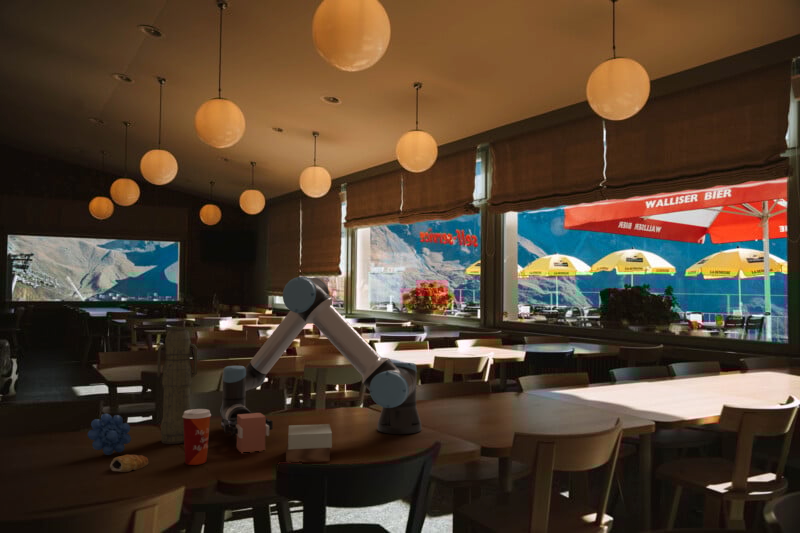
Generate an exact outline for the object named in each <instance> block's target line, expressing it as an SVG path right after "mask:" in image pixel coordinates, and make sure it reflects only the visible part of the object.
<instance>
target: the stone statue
mask: <svg viewBox="0 0 800 533" xmlns="http://www.w3.org/2000/svg"><path fill="white" fill-rule="evenodd" d="M164 341H165V342H164V344H160V345H159V347H158V348H157V372H156V373H157V378H159V379H161V380H162V381H161V384H162V388H163V404H162V405H163V406H162V407H163V408H162V414H163V415H162V419H161V424H160V435H161V443H162V444H166V445H178V444H184V422H183V417H182V416H183V415H184V411H187V410H191V409H190V408H191V387H192V382H193V378H194V377H195V376H196V375H198V347H197V346H196V344H194V343H192V341H191V335H190V332H189V330H187V329H185V328H184V329H181V328H179V329H177V328H176V329H175V328H174V329H170V330H168V331H167V334H166V337H165V340H164ZM162 348H163V349H164V355H165V358H164V364H163V367H161V364H162V363H161V362H162V361H161V360H162V354H161V353H162V352H161V350H162ZM191 348H192V349H193V366H192V363H191V357H190V355H191ZM161 368H162V373H161Z"/></svg>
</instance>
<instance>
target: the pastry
mask: <svg viewBox="0 0 800 533" xmlns="http://www.w3.org/2000/svg"><path fill="white" fill-rule="evenodd" d="M147 465H149V458H148V457H147V456H144V455H142V454H141V455H137V454H128V453H127V454H124V455H121V456H116V457H114V458H112V460H111V462H110V464H109V468H110V469H111V471H112V472H119V473H128V472H131V471H132V470H134V471H136V470H139V469H142V468H144V467H147Z"/></svg>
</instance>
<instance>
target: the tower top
mask: <svg viewBox="0 0 800 533" xmlns="http://www.w3.org/2000/svg"><path fill="white" fill-rule="evenodd" d="M287 436H288V437H287V438H288V439H287V440H288V441H287V444H288V449H310V448H330V449H331V448H333V432H332V428H331V425H330V423H321V424H320V423H319V424H296V425H295V424H293V425H292V424H291V425H288V435H287Z"/></svg>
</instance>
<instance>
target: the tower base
mask: <svg viewBox="0 0 800 533" xmlns="http://www.w3.org/2000/svg"><path fill="white" fill-rule="evenodd" d="M330 449H331V448H310V449H288V443H287V444H286V447H285V462H286V461H291V462H290V463H300V462H299V461H302V462H301V463H312V462H313V463H314V462H317V463H318V462H330V461H331V460H330V456H331V454H330V453H331V452H330V451H331V450H330Z"/></svg>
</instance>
